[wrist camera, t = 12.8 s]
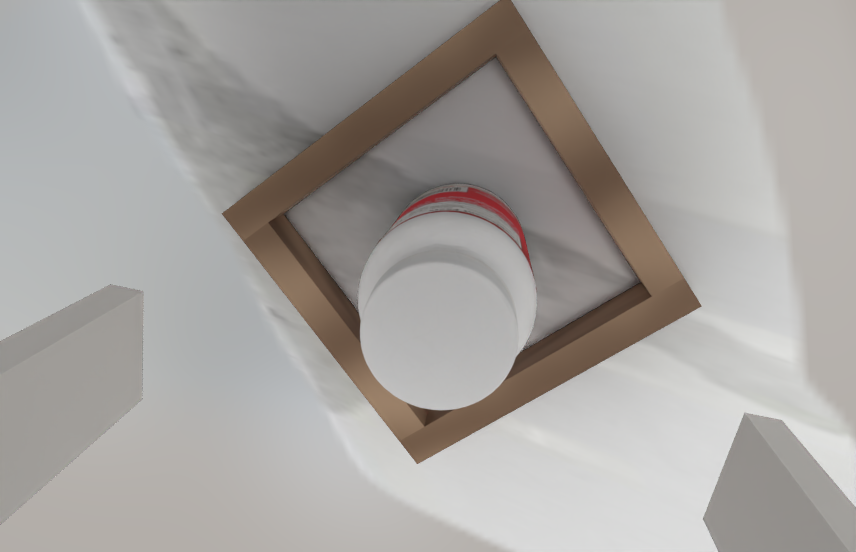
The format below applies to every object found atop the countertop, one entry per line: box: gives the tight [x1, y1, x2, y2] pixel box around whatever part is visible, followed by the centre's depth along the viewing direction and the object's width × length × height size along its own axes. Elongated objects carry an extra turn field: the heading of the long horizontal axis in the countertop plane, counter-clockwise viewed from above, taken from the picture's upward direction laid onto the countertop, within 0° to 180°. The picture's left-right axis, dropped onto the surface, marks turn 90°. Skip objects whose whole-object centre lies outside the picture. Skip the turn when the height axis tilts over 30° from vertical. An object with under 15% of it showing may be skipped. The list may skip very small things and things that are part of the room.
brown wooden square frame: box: [222, 0, 701, 464], centre depth 27 cm, size 15×15×2 cm
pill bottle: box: [358, 184, 537, 410], centre depth 22 cm, size 6×6×11 cm
